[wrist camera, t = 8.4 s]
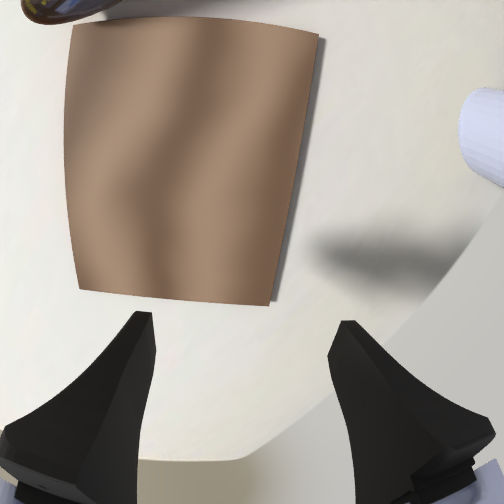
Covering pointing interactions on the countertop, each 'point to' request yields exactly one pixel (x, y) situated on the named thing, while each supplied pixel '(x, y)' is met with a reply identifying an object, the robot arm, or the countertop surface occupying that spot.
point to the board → (183, 154)
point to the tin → (62, 10)
